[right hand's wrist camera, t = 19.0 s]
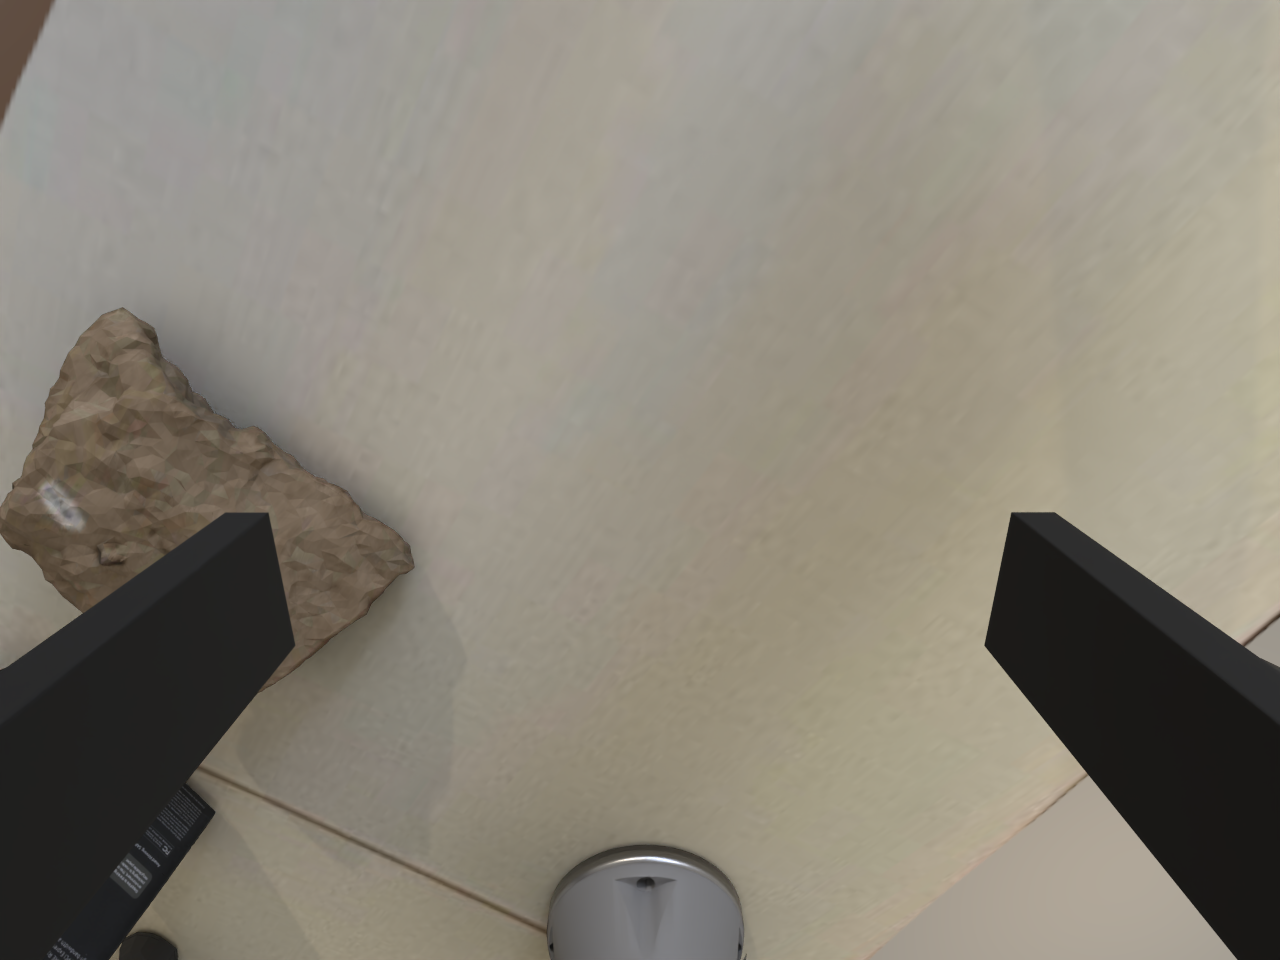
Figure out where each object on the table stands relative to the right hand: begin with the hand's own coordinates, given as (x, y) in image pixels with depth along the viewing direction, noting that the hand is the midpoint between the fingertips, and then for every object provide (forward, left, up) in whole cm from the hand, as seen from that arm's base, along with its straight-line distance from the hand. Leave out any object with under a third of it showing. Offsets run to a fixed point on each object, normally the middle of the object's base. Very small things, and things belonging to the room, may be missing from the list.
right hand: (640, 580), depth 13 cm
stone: (-25, +10, -29) cm, 40 cm away
